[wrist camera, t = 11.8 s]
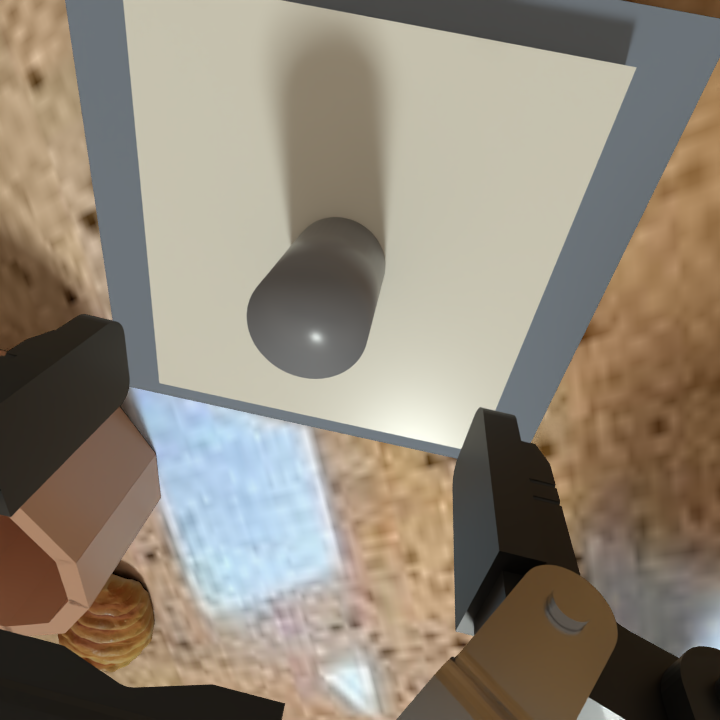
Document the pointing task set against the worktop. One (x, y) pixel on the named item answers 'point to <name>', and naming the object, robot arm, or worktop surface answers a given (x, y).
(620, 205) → the mat
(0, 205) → the worktop surface
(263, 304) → the cover
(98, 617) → the pastry
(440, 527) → the worktop surface
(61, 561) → the bowl
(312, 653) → the worktop surface
